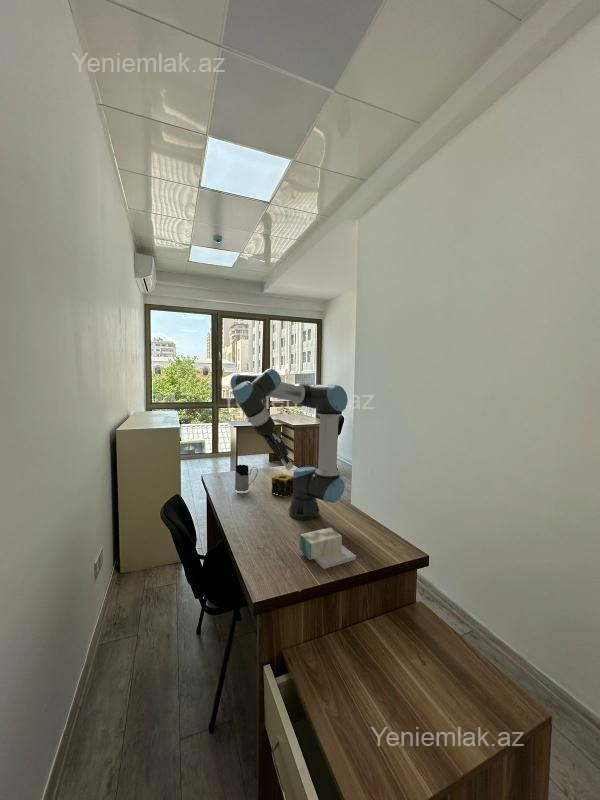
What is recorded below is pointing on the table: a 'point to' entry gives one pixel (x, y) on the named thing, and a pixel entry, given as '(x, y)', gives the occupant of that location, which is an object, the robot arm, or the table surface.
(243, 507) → the table surface
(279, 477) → the candle
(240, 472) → the glass mug
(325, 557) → the pad
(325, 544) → the birch block
